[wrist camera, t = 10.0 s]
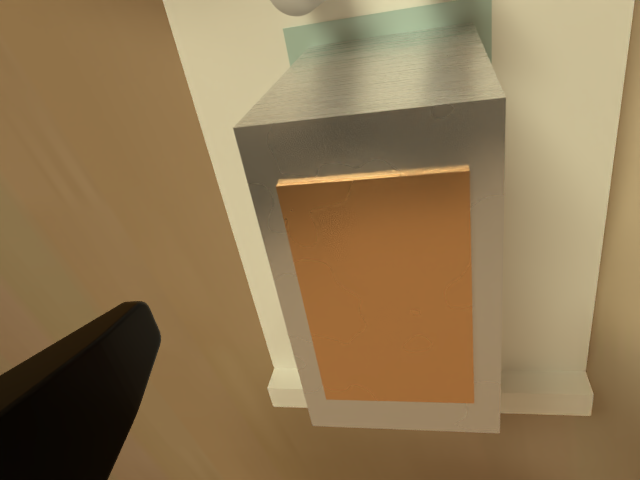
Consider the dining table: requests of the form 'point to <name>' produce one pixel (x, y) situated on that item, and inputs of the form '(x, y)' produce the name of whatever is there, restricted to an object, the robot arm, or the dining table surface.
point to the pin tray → (520, 156)
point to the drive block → (387, 226)
